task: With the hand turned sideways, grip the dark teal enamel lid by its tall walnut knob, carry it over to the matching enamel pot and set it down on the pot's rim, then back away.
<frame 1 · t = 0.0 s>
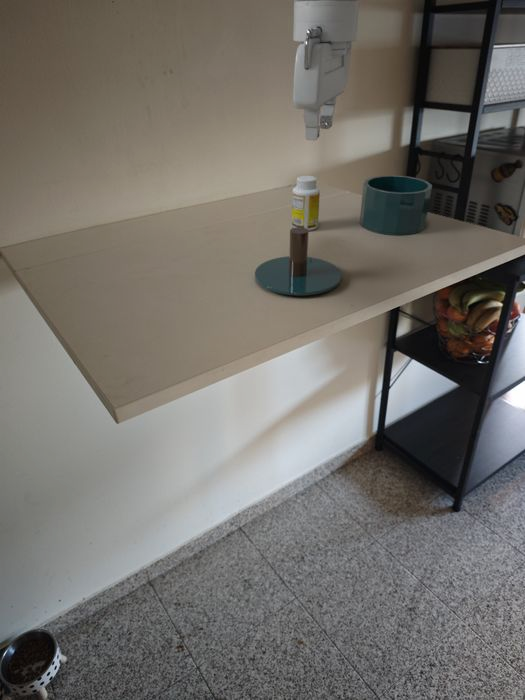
hand: (319, 133, 77), 22 cm above the table, tool pointing down, fingers open, 8 cm apart
supplement bottle: (304, 228, 106), on the table
lid: (297, 275, 85), point 1 cm above the table
pot: (392, 224, 107), on the table
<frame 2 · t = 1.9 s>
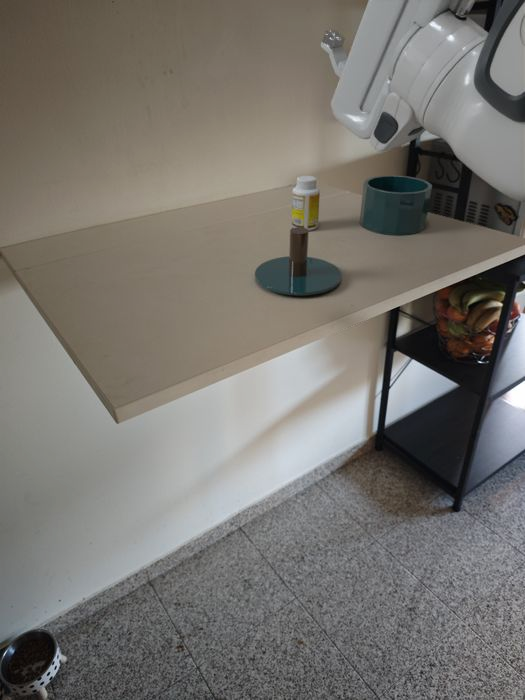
nothing on the table moved.
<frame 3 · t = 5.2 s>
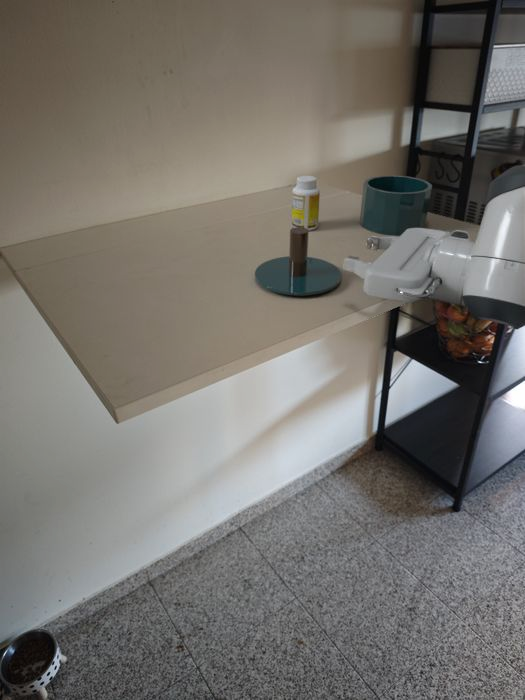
hand: (357, 251, 76), 7 cm above the table, tool horizontal, fingers open, 8 cm apart
nothing on the table moved.
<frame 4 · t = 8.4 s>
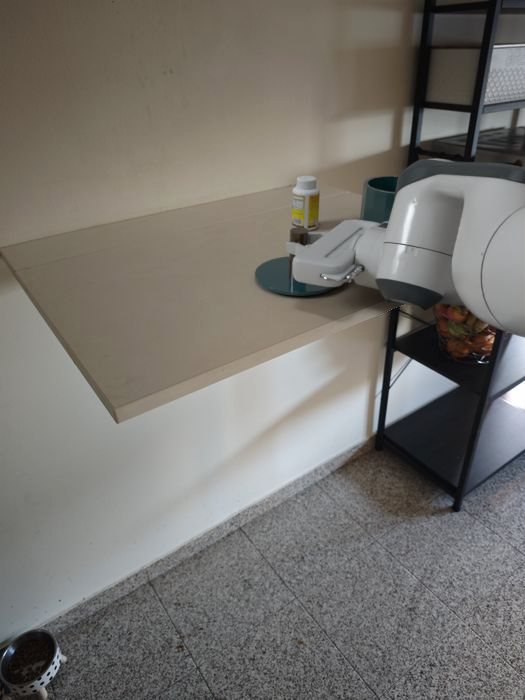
hand: (294, 241, 82), 7 cm above the table, tool horizontal, fingers closed on lid, 3 cm apart
lid: (297, 275, 85), point 1 cm above the table, touching gripper
everything else where it was.
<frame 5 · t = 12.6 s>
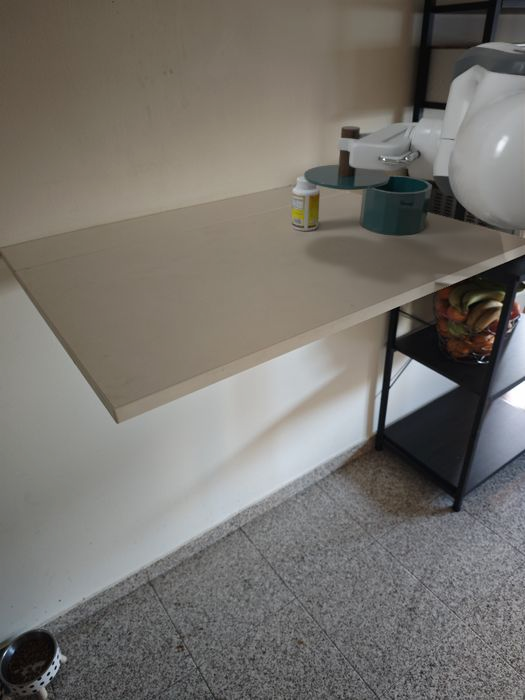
hand: (344, 140, 83), 20 cm above the table, tool horizontal, fingers closed on lid, 3 cm apart
lid: (346, 177, 86), point 14 cm above the table, touching gripper
everything else where it was.
when the fingers open (14 cm above the table, at t = 17.0 s): lid stays where it is, resting on pot.
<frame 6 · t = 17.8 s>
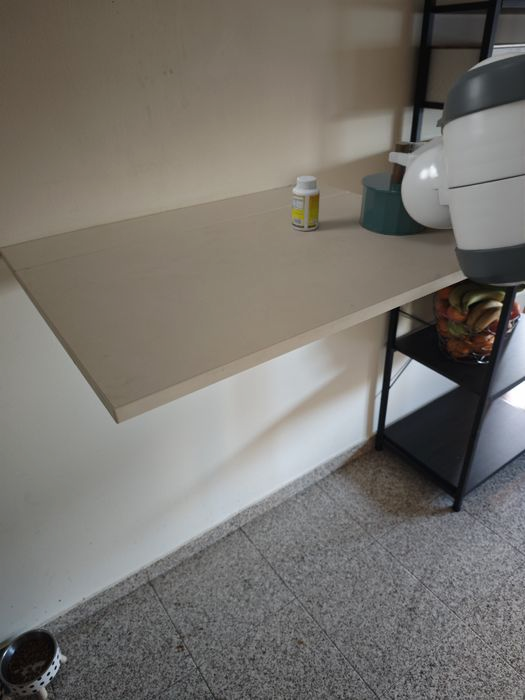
hand: (397, 151, 100), 15 cm above the table, tool horizontal, fingers open, 8 cm apart
lid: (397, 184, 103), point 8 cm above the table, touching pot
everything else where it was.
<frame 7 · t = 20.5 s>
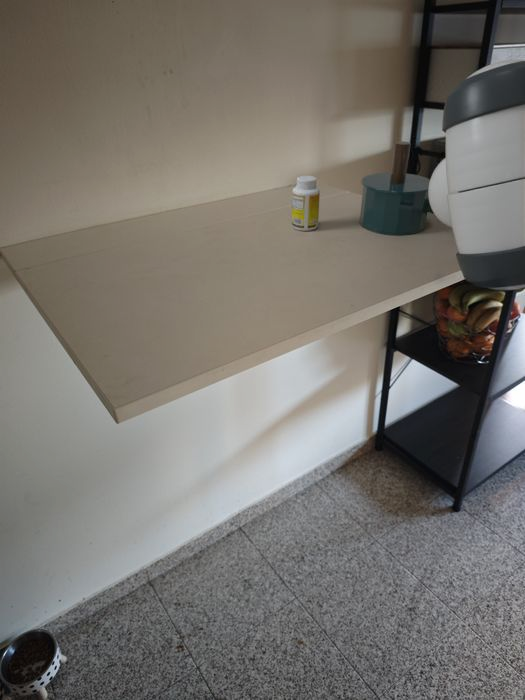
hand: (469, 136, 92), 19 cm above the table, tool horizontal, fingers open, 8 cm apart
nothing on the table moved.
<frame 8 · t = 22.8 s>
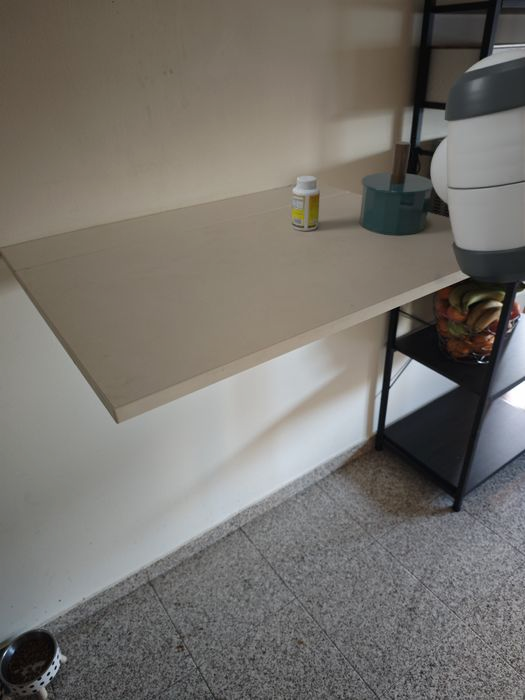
hand: (479, 92, 88), 26 cm above the table, tool horizontal, fingers open, 8 cm apart
nothing on the table moved.
at the end: lid 0.1 cm off-centre on the pot, point 8.5 cm above the pot's base; lid tilted 0°; the gripper is holding nothing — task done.
